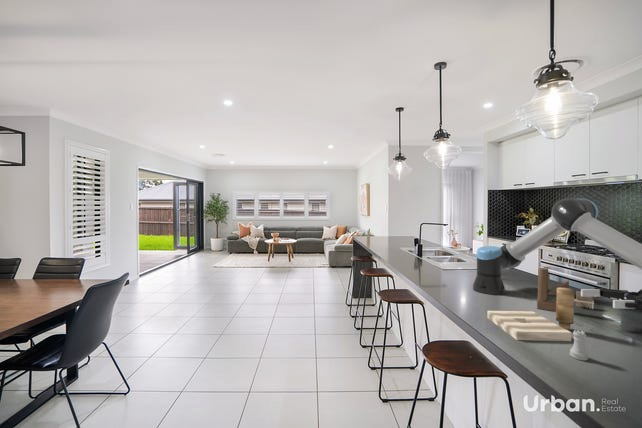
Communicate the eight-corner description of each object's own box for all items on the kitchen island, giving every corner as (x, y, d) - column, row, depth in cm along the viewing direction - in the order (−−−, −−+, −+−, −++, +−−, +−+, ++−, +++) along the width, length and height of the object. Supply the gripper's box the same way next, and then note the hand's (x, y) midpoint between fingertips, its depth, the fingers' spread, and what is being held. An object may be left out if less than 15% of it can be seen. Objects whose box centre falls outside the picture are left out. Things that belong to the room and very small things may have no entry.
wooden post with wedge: (568, 313, 127) (569, 271, 127) (537, 308, 133) (537, 268, 133) (567, 311, 130) (568, 270, 130) (536, 306, 136) (537, 267, 136)
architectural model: (594, 311, 131) (595, 294, 131) (574, 308, 135) (574, 292, 135) (592, 309, 134) (592, 292, 134) (572, 306, 138) (572, 290, 138)
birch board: (487, 317, 123) (487, 310, 123) (532, 318, 122) (533, 311, 122) (516, 339, 103) (516, 331, 103) (571, 341, 102) (571, 332, 102)
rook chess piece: (565, 354, 93) (566, 328, 93) (578, 353, 93) (579, 328, 93) (579, 361, 89) (579, 334, 88) (592, 360, 89) (593, 334, 89)
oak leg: (552, 326, 114) (553, 287, 114) (566, 326, 114) (567, 287, 113) (562, 332, 109) (563, 291, 108) (577, 332, 109) (578, 291, 108)
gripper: (699, 322, 96) (629, 321, 98) (624, 298, 121) (570, 298, 122) (699, 299, 96) (630, 298, 97) (625, 280, 121) (570, 279, 122)
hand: (596, 298), depth 110 cm, fingers open, 13 cm apart
